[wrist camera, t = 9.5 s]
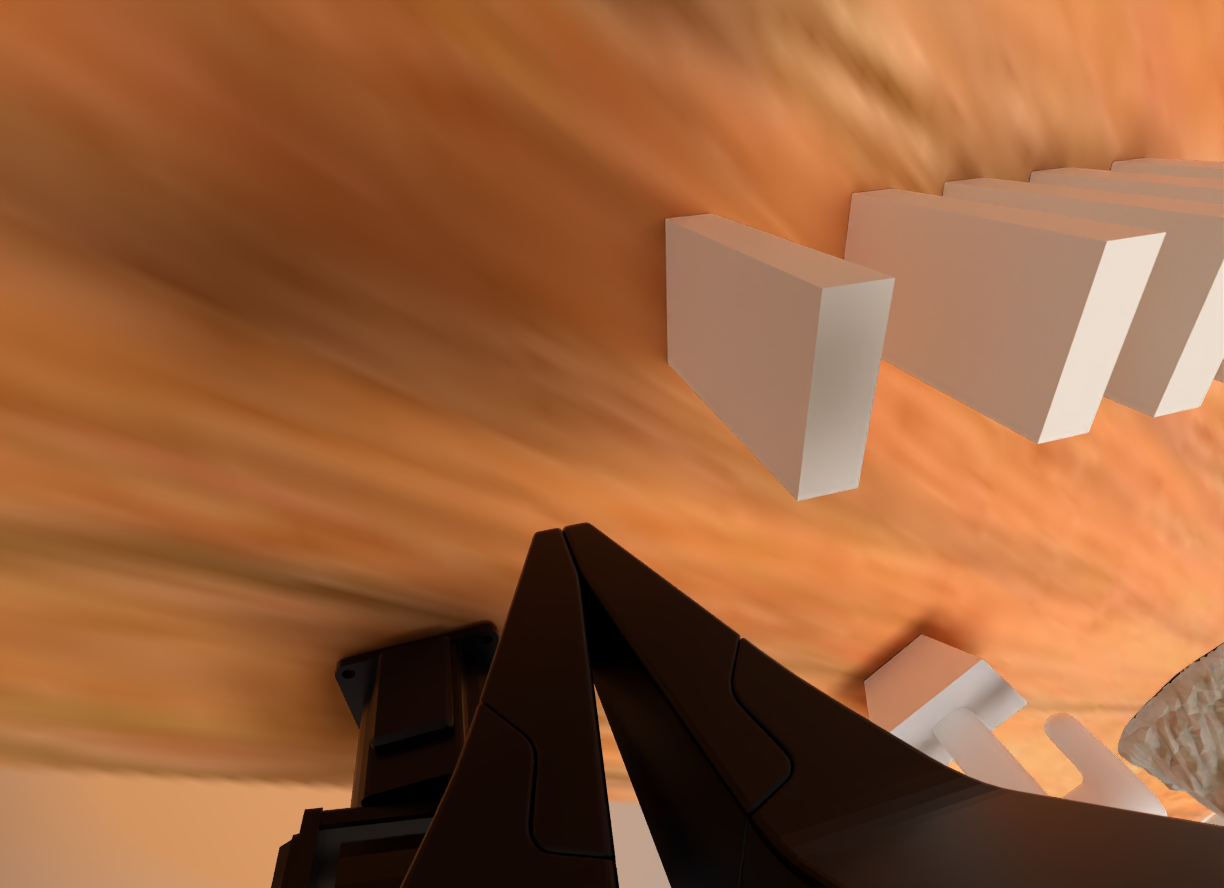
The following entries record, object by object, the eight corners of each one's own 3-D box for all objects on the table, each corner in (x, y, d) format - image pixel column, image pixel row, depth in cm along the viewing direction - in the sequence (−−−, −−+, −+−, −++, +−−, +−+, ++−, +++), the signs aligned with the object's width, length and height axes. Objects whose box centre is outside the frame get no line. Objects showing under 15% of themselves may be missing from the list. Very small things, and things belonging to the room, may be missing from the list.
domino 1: (708, 357, 22) (858, 487, 14) (667, 363, 21) (797, 501, 14) (711, 213, 19) (895, 278, 12) (665, 218, 19) (822, 288, 11)
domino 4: (1028, 300, 24) (1300, 384, 17) (996, 305, 24) (1257, 394, 16) (1067, 167, 22) (1407, 194, 14) (1031, 171, 21) (1359, 202, 14)
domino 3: (952, 313, 24) (1200, 406, 16) (918, 319, 23) (1153, 417, 16) (983, 177, 21) (1294, 211, 13) (945, 182, 21) (1241, 219, 13)
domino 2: (870, 327, 23) (1088, 432, 15) (834, 333, 23) (1037, 444, 15) (893, 188, 20) (1166, 232, 13) (852, 193, 20) (1106, 241, 12)
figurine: (992, 642, 36) (1290, 923, 24) (874, 735, 38) (1095, 1044, 25) (946, 595, 33) (1271, 897, 20) (819, 700, 34) (1043, 1040, 22)
